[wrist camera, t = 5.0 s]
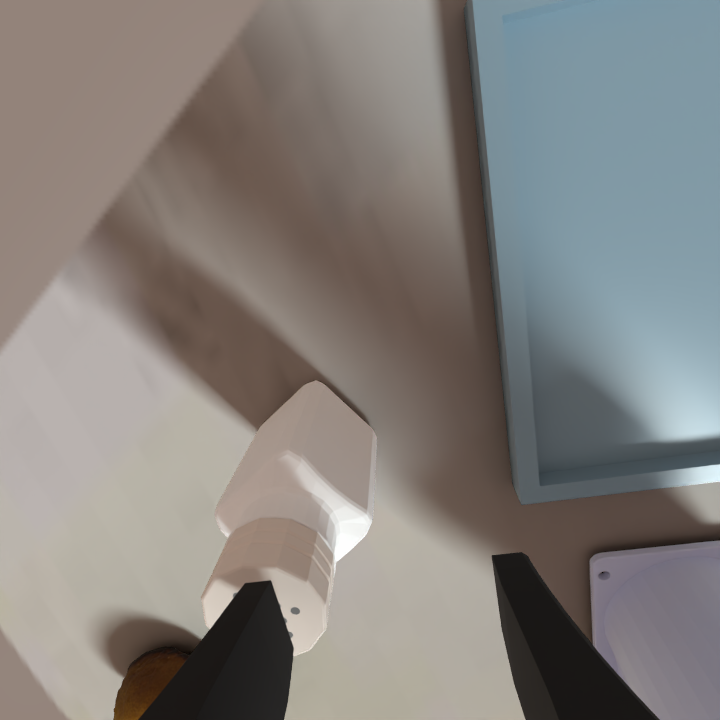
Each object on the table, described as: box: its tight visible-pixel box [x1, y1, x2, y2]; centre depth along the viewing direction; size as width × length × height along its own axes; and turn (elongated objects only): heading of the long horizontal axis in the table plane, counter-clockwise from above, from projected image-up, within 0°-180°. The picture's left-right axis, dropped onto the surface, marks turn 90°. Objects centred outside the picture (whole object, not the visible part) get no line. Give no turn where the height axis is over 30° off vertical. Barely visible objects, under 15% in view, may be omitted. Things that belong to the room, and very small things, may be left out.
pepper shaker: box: [201, 380, 377, 656], centre depth 16 cm, size 4×4×10 cm
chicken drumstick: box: [113, 647, 189, 720], centre depth 24 cm, size 8×8×4 cm
